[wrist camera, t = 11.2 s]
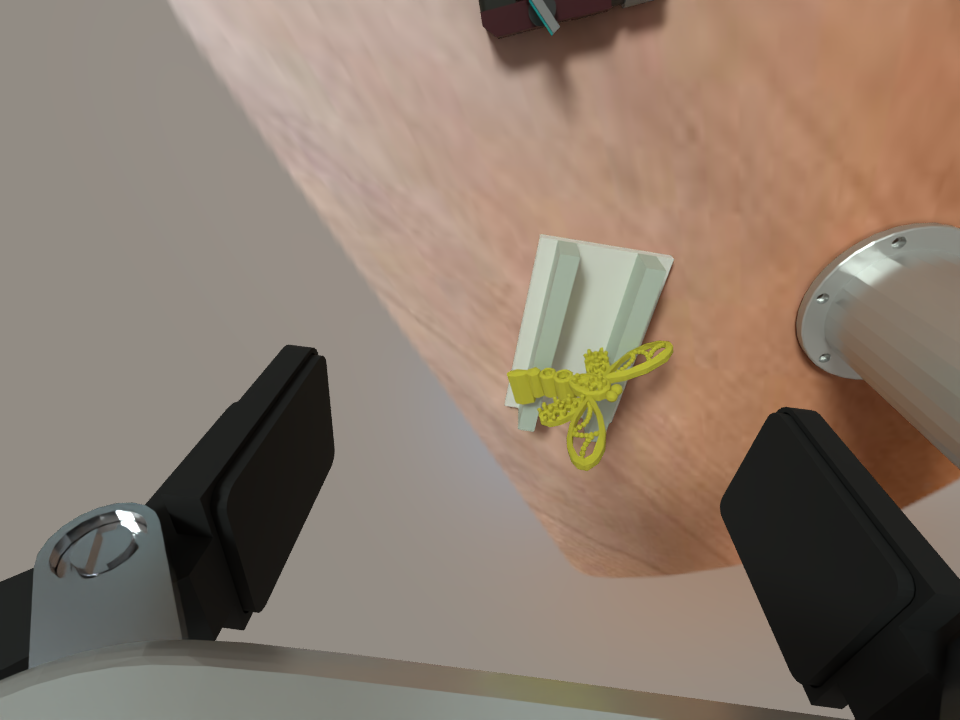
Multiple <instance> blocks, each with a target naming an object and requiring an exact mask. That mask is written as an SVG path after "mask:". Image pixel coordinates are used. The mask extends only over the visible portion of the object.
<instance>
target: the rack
mask: <svg viewBox="0 0 960 720" xmlns="http://www.w3.org/2000/svg"><path fill="white" fill-rule="evenodd" d="M673 260H674V259H673V257H672V256H671V255H665V254H659V253H653V252H647V251H641V250H635V249H629V248H623V247H616V246H610V245H604V244H598V243H592V242H586V241H580V240H574V239H568V238H562V237H556V236H550V235H543V234H540V238H539V242H538V247H537V252H536V256H535V261H534V266H533V271H532V275H531V280H530V285H529V290H528V294H527V299H526V304H525V308H524V313H523V318H522V323H521V327H520V332H519V337H518V342H517V346H516V351H515V356H514V360H513V365H512V370H516V369H522V370H528V369H531V368H534V367H537V368H538V369H540V371H542V370H543V369H545V368H553V369H555V370H556V372H557V371H559V370H562V369H568V370H570V371H571V372H573V375H575V374H576V373H579V374H582V373H586V367H585V362H584V360H585V358H584V356H583V355H584V354H585V353H586V354H587V350H588V349H591V351H592V352H594V351H599V349H600V348H601V347H603V350H604V351H608V355H607V356H608V357H609V364H610V366H611V365H612V364H613V363H615V362H616V361H617V360H618V359H620V358H621V357H622V356H623V355H625V354H626V353H627V352H629V351H631V350H633V349H635V348H637V347H639V346H641V344H642V341H643V339H644V336H645V334H646V331H647V328H648V326H649V323H650V320H651V318H652V315H653V313H654V310H655V307H656V305H657V302H658V299H659V297H660V294H661V292H662V289H663V286H664V284H665V281H666V279H667V276H668V273H669V271H670V268H671V265H672V263H673ZM637 355H638V354H636V357H637ZM630 359H631V358H629V359H628V360H627V361H625V362H624V363H622V365H621V366H620V367H623V365H625V364H626V363H627V362H629V360H630ZM635 360H636V359H635ZM634 362H635V361H634ZM633 365H634V363H633V364H631V366H629V367H628V368H627V369H630V368H632V367H633ZM620 367H619V368H618V369H617V370H620ZM512 370H511V371H512ZM625 370H626V369H625ZM615 372H616V371H615ZM627 381H628V380H626V381H622V382H617V383H611V387H612V385H614V384H619V385H621V386H622V389H623V391H624V389H625V386H626V383H627ZM596 390H597V389H596ZM623 391H622V393H621V394H620V395H619V396H618V398H617V400H616V401H615V402H609V401H607V399H604V400H601V401H595V402H596V403H597V405H598V407H599V409H600V411H601V413H602V415H603V420H604V424H605V429H606V431H607V428H608V425H609V423H612V420H613V417H614V415H615V412H616V410H617V407H618V404H619V402H620V399H621V396H622V394H623ZM577 398H580V397H578V396H577ZM557 399H558V397H557ZM543 402H546V404H547V405H548V404H551V403H554V401H553V398H549V397H546V396H545V395H544V396H542V397H540V398H536V400H535V402H534V403H529V404H524V405H522V404H517V403H516V402H515V399H514V396H513V392H512V389H511V386H510V382H509V384H508V389H507V393H506V398H505V406H510V407H516V408H519V410H518V429H520V430H526V431H532V432H534V429H535V426H536V422H537V418H538V414H539V412H538V411H537V409H538V408H541V409H542V410H543V408H542V403H543ZM587 411H588V407H587V409H586V410H585V412H584V413H583V415H582V416H581V418H583V422H584V419H586V418H585V417H586V416H587ZM592 411H593V410H592ZM567 412H570V411H567ZM598 430H599V426H598V421H597V418H596V415H595V413H594V412H593V413H592V417H591V420H590V421H589V423H588V424H586V427H584V431H585V433H590V432H594V431H598ZM597 439H598V436H597V437H595V436H594V439H593V440H591V441H593V442H597Z"/></svg>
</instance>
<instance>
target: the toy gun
mask: <svg viewBox="0 0 960 720" xmlns="http://www.w3.org/2000/svg"><path fill="white" fill-rule="evenodd" d="M649 1H653V0H523V1H519V2H516V0H479V5H480V11H481V12H480V13H481V19H482V24H483V27H484V28H486V29H487V30H488V31H489V32H491V33H492V34H493V35H494V36H496V37H497V38H498V39H500V38H504V37H507V36H511V35H515V34H519V33H522V32H526V31H530V30H534V29H538V28H541V27H546V28H547V30H548V31H549V33H550V34H551V36H552V35H553V34H554V33H555V32H556V31H557V30H558V29H559V28H560V26H559V24H558V23H560V22H564V21H568V20H575V19H579V18H583V17H587V16H591V15H594V14H598V13H602V12H606V11H608V10H609V9H611V8H612V7H613V6H617V5H620V4H621V5H622V8H626V7H630V6H634V5H637V4H641V3H645V2H649Z"/></svg>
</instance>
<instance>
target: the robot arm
mask: <svg viewBox="0 0 960 720" xmlns="http://www.w3.org/2000/svg"><path fill="white" fill-rule="evenodd" d="M796 328H797V337H798V340H799V343H800V346H801V348H802V349H803V351H804V352H805V353H806V355H807V356H808V357H809V358H810V359H811V360H812V361H813V363H814V364H816V365H817V366H818V367H820V368H821V369H823V370H824V371H826V372H828V373H830V374H833V375H836V376H839V377H843V378H849V379H862V380H865V381H866V382H867V383H868V384H869V385H870V386H871V387H872V388H873V389H874V390H875V391H876V392H877V393H878V394H879V395H881V396H882V397H883V398H884V399H885V400H886V401H887V402H888V403H889V404H890V405H891V406H892V407H893V408H894V409H896V410H897V411H898V412H899V413H900V414H901V415H902V416H903V417H904V418H905V419H906V420H907V421H908V422H909V423H910V424H912V425H913V426H914V427H915V428H916V429H917V430H918V431H919V432H920V433H921V434H922V435H923V436H924V437H925V438H926V439H928V440H929V441H930V442H931V443H932V444H933V445H934V446H935V447H936V448H937V449H938V450H939V451H940V452H941V453H942V454H944V455H945V456H946V457H947V458H948V459H949V460H950V461H951V462H952V463H953V464H954V465H955V466H956V467H957V468H959V469H960V228H957V227H955V226H952V225H946V224H940V223H914V224H909V225H903V226H898V227H894V228H891V229H888V230H885V231H882V232H880V233H877V234H874V235H872V236H870V237H868V238H866V239H864V240H862V241H860V242H858V243H856V244H855V245H854V246H852V247H851V248H849V249H848V250H846V251H845V252H843V253H842V254H840V255H839V256H838V257H837V258H835V259H834V260H833V261H832V262H831V263H830V264H829V265H827V266H826V267H825V268H824V269H823V271H822V272H821V273H820V274H819V275H818V276H817V278H816V279H815V280H814V281H813V282H812V284H811V286H810V287H809V289H808V290H807V292H806V294H805V295H804V298H803V300H802V303H801V305H800V308H799V310H798V316H797V322H796ZM333 459H334V438H333V427H332V417H331V407H330V396H329V387H328V375H327V365H326V359H325V357H324V356H319V355H318V352H317V350H316V349H315V348H311V347H302V346H295V345H286V346H285V347H284V348H283V349H282V350H281V351H280V352H279V353H278V355H277V356H276V357H275V358H274V359H273V361H272V362H271V363H270V364H269V365H268V367H267V368H266V369H265V370H264V371H263V373H262V374H261V375H260V376H259V377H258V379H257V380H256V381H255V382H254V383H253V384H252V386H251V387H250V388H249V389H248V390H247V392H246V393H245V394H244V395H243V396H242V398H241V399H240V400H239V401H238V402H235V403H233V404H232V405H231V406H229V407H228V408H227V409H226V411H225V412H224V413H223V414H222V416H220V418H219V419H218V420H217V421H216V422H215V424H214V425H213V426H212V427H211V428H210V429H209V431H208V432H207V433H206V434H205V435H204V437H203V438H202V439H201V440H200V441H199V442H198V444H197V445H196V446H195V447H194V448H193V449H192V450H191V452H190V453H189V454H188V455H187V456H186V457H185V459H184V460H183V461H182V462H181V464H180V465H179V466H178V467H177V468H176V469H175V470H174V472H173V473H172V474H171V475H170V476H169V477H168V479H167V480H166V481H165V482H164V483H163V484H162V486H161V487H160V488H159V489H158V490H157V491H156V493H155V494H154V495H153V496H152V497H151V499H150V500H149V501H148V502H147V503H146V504H145V505H142V504H137V503H116V504H111V505H107V506H104V507H99V508H96V509H94V510H92V511H89V512H87V513H85V514H82V515H80V516H78V517H77V518H75V519H73V520H72V521H70V522H69V523H67V524H66V525H64V526H62V527H61V528H60V529H59V530H58V531H57V532H56V533H55V534H54V535H52V536H51V537H50V538H49V539H48V540H47V542H46V543H45V544H44V546H43V547H42V548H41V550H40V551H39V553H38V555H37V558H36V562H35V565H34V568H32V569H30V570H28V571H25V572H23V573H20V574H18V575H16V576H13V577H11V578H8V579H6V580H4V581H1V582H0V720H848V719H840V718H833V717H826V716H819V715H811V714H804V713H797V712H789V711H782V710H775V709H768V708H760V707H753V706H746V705H738V704H731V703H724V702H716V701H709V700H702V699H695V698H687V697H679V696H672V695H663V694H657V693H649V692H642V691H634V690H627V689H619V688H612V687H604V686H596V685H588V684H581V683H573V682H565V681H558V680H551V679H543V678H535V677H527V676H519V675H512V674H505V673H497V672H489V671H481V670H473V669H465V668H457V667H449V666H441V665H433V664H426V663H418V662H410V661H402V660H394V659H386V658H378V657H370V656H362V655H353V654H346V653H336V652H328V651H318V650H309V649H300V648H291V647H281V646H272V645H263V644H253V643H243V642H225V641H215V640H216V638H217V636H218V635H219V633H220V631H221V629H222V628H230V629H237V630H244V629H245V627H246V625H247V623H248V621H249V619H250V617H251V615H252V613H253V612H257V613H259V612H261V611H262V610H263V608H264V607H265V605H266V603H267V601H268V599H269V597H270V595H271V593H272V591H273V589H274V587H275V584H276V582H277V580H278V578H279V576H280V574H281V572H282V569H283V568H284V565H285V563H286V561H287V559H288V557H289V554H290V553H291V551H292V548H293V546H294V544H295V542H296V540H297V538H298V536H299V534H300V531H301V529H302V527H303V525H304V523H305V521H306V519H307V517H308V515H309V513H310V510H311V508H312V506H313V504H314V502H315V500H316V498H317V496H318V494H319V491H320V489H321V487H322V485H323V483H324V481H325V479H326V476H327V474H328V472H329V470H330V468H331V466H332V463H333ZM720 512H721V516H722V518H723V521H724V523H725V525H726V527H727V530H728V532H729V534H730V536H731V539H732V541H733V543H734V545H735V548H736V550H737V552H738V555H739V557H740V559H741V561H742V564H743V566H744V568H745V570H746V573H747V575H748V577H749V579H750V582H751V584H752V586H753V589H754V591H755V593H756V595H757V598H758V600H759V602H760V604H761V607H762V609H763V611H764V613H765V616H766V618H767V620H768V623H769V625H770V627H771V629H772V631H773V634H774V636H775V638H776V641H777V643H778V645H779V647H780V650H781V652H782V654H783V656H784V659H785V661H786V663H787V666H788V668H789V670H790V672H791V674H792V676H793V677H794V678H795V679H796V681H797V682H799V683H800V684H802V685H803V688H804V690H805V692H806V694H807V696H808V698H809V701H810V703H811V705H815V706H823V707H831V708H838V709H843V708H844V707H845V706H847V705H849V707H850V709H851V711H852V713H853V715H854V717H855V720H960V579H959V578H958V577H957V576H956V574H955V573H954V572H953V571H952V570H951V568H950V567H949V566H948V565H947V564H946V563H945V561H944V560H943V559H942V558H941V557H940V555H938V553H937V552H936V551H935V550H934V549H933V547H932V546H931V545H930V544H929V543H928V541H927V540H926V539H925V538H924V537H923V536H922V534H921V533H920V532H919V531H918V530H917V528H916V527H915V526H914V525H913V524H912V523H911V521H910V520H909V519H908V518H907V517H906V515H905V514H904V513H903V512H902V511H901V510H900V508H899V507H898V506H897V505H896V504H895V503H894V501H893V500H892V499H891V498H890V497H889V495H888V494H887V493H886V492H885V491H884V490H883V488H882V487H881V486H880V485H879V484H878V482H877V481H876V480H875V479H874V478H873V477H872V475H871V474H870V473H869V472H868V471H867V470H866V468H865V467H864V466H863V465H862V464H861V462H860V461H859V460H858V459H857V458H856V457H855V455H854V454H853V453H852V452H851V451H850V450H849V448H848V447H847V446H846V445H845V444H844V442H843V441H842V440H841V439H840V438H839V437H838V435H837V434H836V433H835V432H834V431H833V429H832V428H831V427H830V426H829V425H828V424H827V422H826V421H825V420H824V419H823V418H822V417H821V415H820V414H818V413H817V412H816V411H812V410H806V409H798V408H790V407H783V408H781V409H779V410H778V411H777V412H776V413H772V414H770V415H769V416H768V418H767V419H766V421H765V423H764V425H763V426H762V428H761V430H760V432H759V433H758V435H757V437H756V439H755V440H754V442H753V444H752V446H751V448H750V449H749V451H748V453H747V455H746V456H745V458H744V460H743V462H742V464H741V465H740V467H739V469H738V471H737V472H736V474H735V476H734V478H733V479H732V481H731V483H730V485H729V487H728V488H727V490H726V492H725V494H724V495H723V497H722V500H721V503H720Z"/></svg>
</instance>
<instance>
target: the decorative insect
mask: <svg viewBox="0 0 960 720" xmlns="http://www.w3.org/2000/svg"><path fill="white" fill-rule="evenodd" d="M650 348H652V349H651V350H650V351H649V353H648V352H645V350H647V349H650ZM660 348H666V349H664V350H663V351H662V352H661V353H659V354H658V355H657V356H656V357H654V358H653V359H651V357H653V354H654V352H656V350H658V349H660ZM672 353H673V346H672V344H671V343H670V342H669V341H655V342H651V343H646V344H643V345H641V346H639V347H637V348H635V349H633V350H631V351H629V352H627V353H626V354H625V355H623V356H622V357H621V358H620V359H618V360H617V361H616V362H615V363H613V364H612V365H611V366H610V364H609V357H608V356H607V355H608V351H604V350H603V347H601V348H600V349H599V351H594V352H592V351H591V349H588V350H587V354H586V353H585V354H584V355H583V356H584V358H585V360H584V362H585V367H586V373H582V374H579V373H576V374H575V375H573V372H571V371H570V370H568V369H562V370H559V371H557V372H556V370H555V369H553V368H545V369H543V370H542V371H540V369H538V368H537V367H534V368H531V369H528V370H522V369H516V370H512V371H510V372H508V373H507V376H508V379H509V382H510V386H511V389H512V392H513V396H514V399H515V402H516V403H517V404H522V405H524V404H529V403H534V402H535V400H536V398H540V397H542V396H544V395H545V396H546V397H549V398H553V401H554V403H551V404H548V405H547V404H546V402H543V403H542V408H543V410H542V409H541V408H538V409H537V411H538V412H539V418H540V421H541V425H545V426H549V427H553V426H558V425H562V424H564V423H566V422H569V421H571V422H570V425H569V430H568V435H567V449H568V453H569V456H570V459H571V462H572V463H573V464H574V465H575V466H576V467H577V469H580V470H585V471H588V470H590V469H591V468H593V467H594V466H596V465H597V464H598V463H599V462H600V460H601V458H602V456H603V454H604V452H605V445H606V429H605V424H604V420H603V415H602V413H601V411H600V409H599V407H598V405H597V403H596V402H595V401H601V400H604V399H607V401H609V402H615V401H616V400H617V398H618V396H619V395H620V394H621V393H622V391H623V389H622V386H621V385H619V384H614V385H612V387H611V383H617V382H622V381H626V380H629V379H632V378H635V377H638V376H641V375H644V374H647V373H649V372H650V371H652V370H654V369H655V368H657V367H659V366H660V365H662V364H664V363H665V362H667V361H668V360H669V358H670V356H671V355H672ZM636 354H642V355H643V354H644V356H645V357H646V362H644V363H642V364H639V365H637V366H635V367H632V368H630V369H627V368H628V367H629V366H631V364H633V363H634V361H635V359H636ZM629 358H631V359H630V360H629V362H627V363H626V364H625V365H623V367H620V366H621V365H622V363H624V362H625V361H627V360H628V359H629ZM619 367H620V370H617V369H618V368H619ZM625 369H626V370H625ZM615 371H616V372H615ZM596 389H597V390H596ZM577 396H578V397H580V398H577ZM557 397H558V399H557ZM587 407H588V411H587V416H586V417H585V418H586V419H584V422H582V423H581V425H577V423H578V421H579V419H580V418H581V416H582V415H583V413H584V412H585V410H586V409H587ZM592 410H593V411H592ZM567 411H570V412H567ZM593 412H594V413H595V415H596V418H597V421H598V426H599V430H598V431H594V432H590V433H585V434H584V433H579V432H577V431H578V430H582V427H586V424H588V423H589V421H590V420H591V417H592V413H593ZM557 415H560V416H558V417H557ZM576 426H577V428H576ZM594 436H595V437H597V436H598V439H597V442H596V445H595V448H594V451H593V454H591V455H589V456H588V457H586V458H584V456H585V451H586V447H588V444H589V443H590V442H591V440H593V439H594ZM573 437H580V438H584V437H585V438H586V439H585V442H584V443H583V446H582V447H581V451H580V452H579V454H580V457H579V456H577V454H576V452H575V450H574V448H573Z"/></svg>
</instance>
